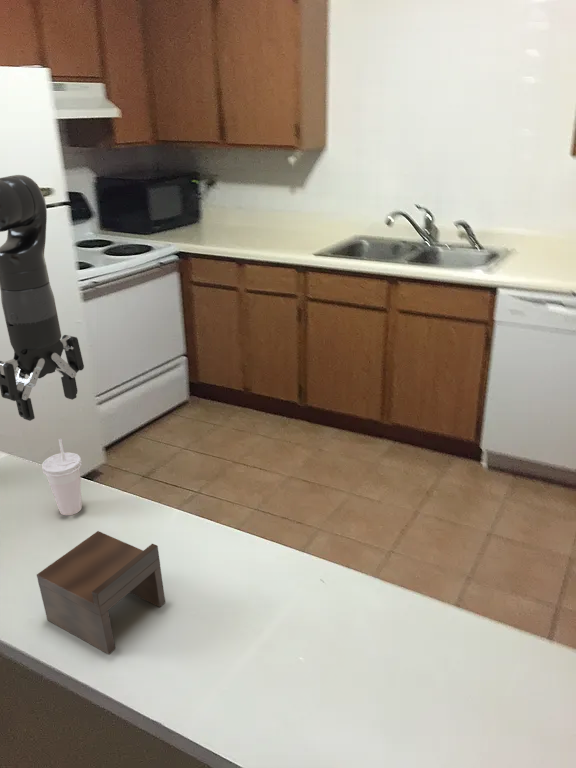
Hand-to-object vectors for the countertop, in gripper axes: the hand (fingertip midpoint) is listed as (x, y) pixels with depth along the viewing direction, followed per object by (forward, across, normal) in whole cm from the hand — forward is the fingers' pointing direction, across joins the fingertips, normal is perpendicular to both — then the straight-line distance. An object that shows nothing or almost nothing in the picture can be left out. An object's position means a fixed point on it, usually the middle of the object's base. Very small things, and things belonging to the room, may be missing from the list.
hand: (50, 408), depth 109 cm
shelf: (+20, +14, +24) cm, 34 cm away
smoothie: (+20, 0, 0) cm, 20 cm away
